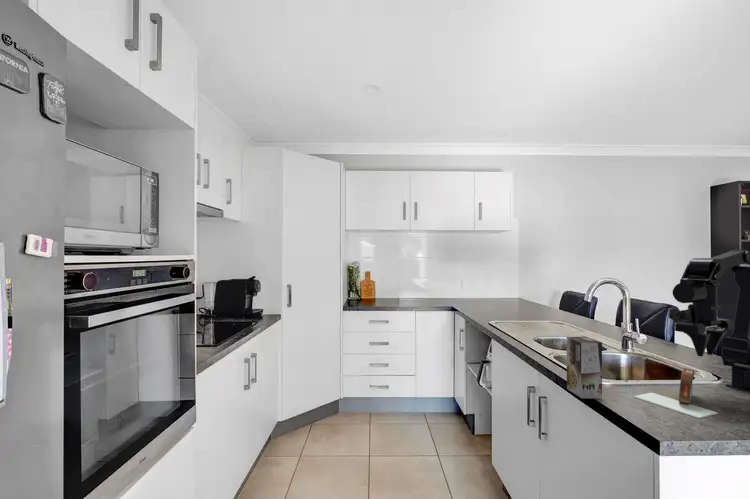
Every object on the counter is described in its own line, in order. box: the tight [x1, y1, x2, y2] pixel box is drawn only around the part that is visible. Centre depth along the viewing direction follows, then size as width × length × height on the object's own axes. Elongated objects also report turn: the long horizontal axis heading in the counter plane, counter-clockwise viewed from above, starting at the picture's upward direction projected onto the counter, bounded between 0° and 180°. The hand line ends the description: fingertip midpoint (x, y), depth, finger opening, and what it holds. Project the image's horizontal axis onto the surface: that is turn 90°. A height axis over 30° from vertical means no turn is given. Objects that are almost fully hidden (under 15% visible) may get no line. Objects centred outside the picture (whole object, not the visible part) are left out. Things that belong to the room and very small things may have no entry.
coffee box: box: [566, 336, 603, 400], centre depth 124 cm, size 9×6×16 cm
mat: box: [633, 392, 719, 420], centre depth 115 cm, size 8×17×1 cm, turn 24°
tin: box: [678, 367, 695, 404], centre depth 118 cm, size 15×3×8 cm, turn 141°
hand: (704, 355), depth 122 cm, fingers open, 4 cm apart
